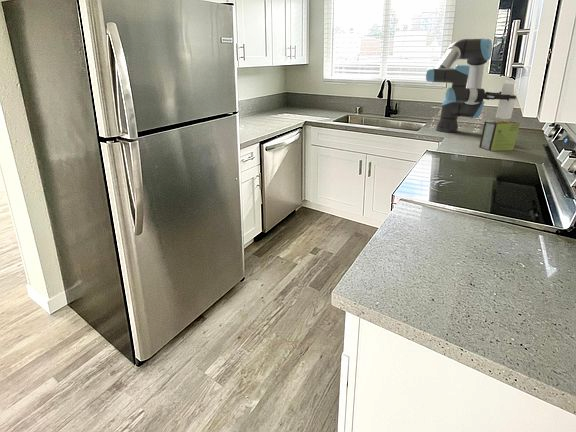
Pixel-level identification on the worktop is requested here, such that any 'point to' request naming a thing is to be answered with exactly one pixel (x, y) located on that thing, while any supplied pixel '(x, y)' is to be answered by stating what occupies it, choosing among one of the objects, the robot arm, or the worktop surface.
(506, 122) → the protein box
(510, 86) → the milk
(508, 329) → the worktop surface
